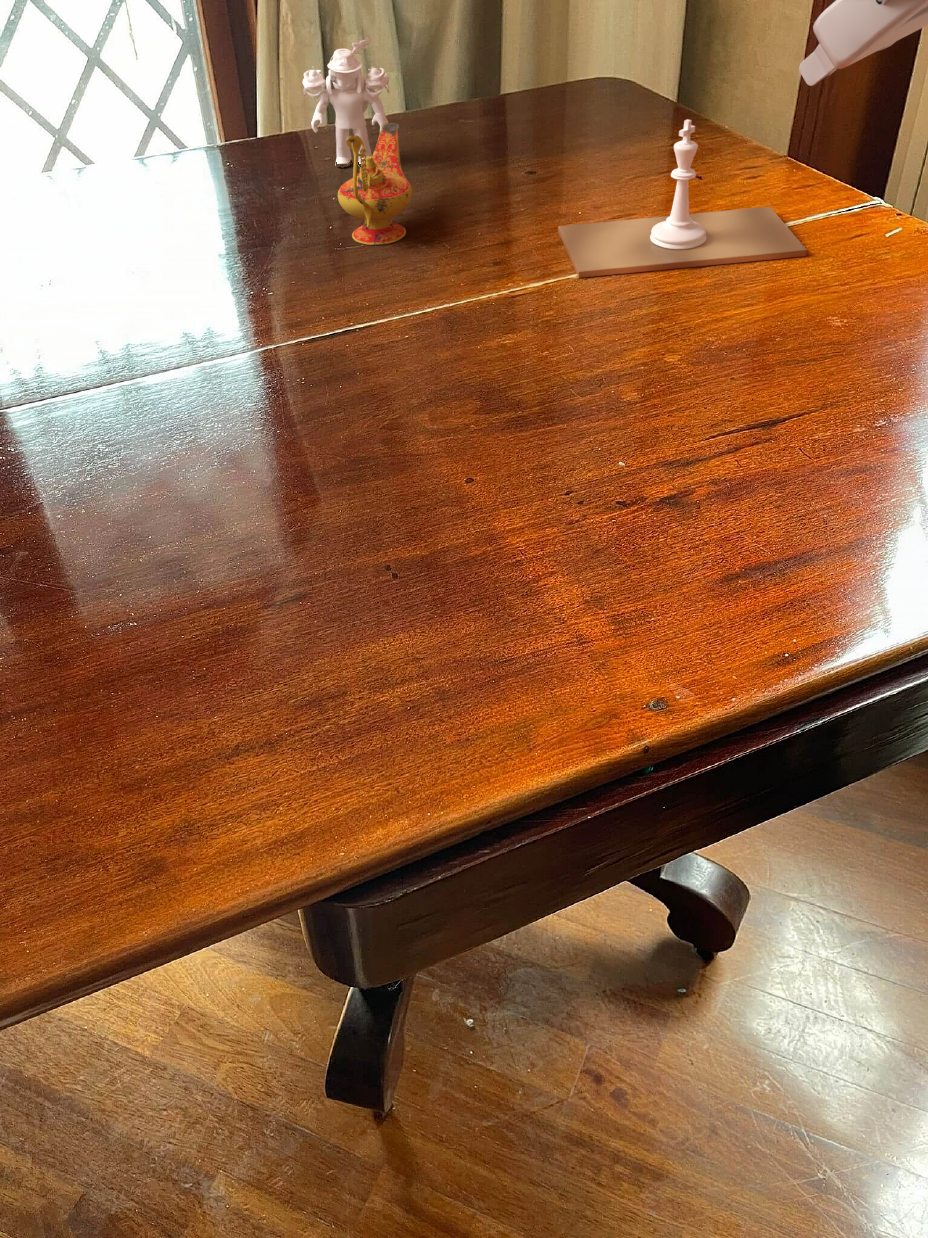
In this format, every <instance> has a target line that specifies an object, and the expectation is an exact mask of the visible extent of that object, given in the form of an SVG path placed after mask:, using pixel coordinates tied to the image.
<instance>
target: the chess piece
mask: <svg viewBox="0 0 928 1238" xmlns="http://www.w3.org/2000/svg"><path fill="white" fill-rule="evenodd" d="M695 132H696V125H692V119H688V118H687V119H685V120H684V121H683V128H682V129H680V130H679V131H678V137H681V138H682V139H681V140H679V141H677V142H675V143H674V144H673V151H674V154H675V155H674V156H675V158H676V163H677V168H674V169H673V170H672V171H671V173H670V177H671V178H672V179H674V180H676V186H675V192H674V195H673V201H672V206H671V211H670V214H669V215H668V216H669V217H668V218H667V219H666V221H663V222H660V223H658V224H656V225H655V226H654V227H653V228H652V230H651V235H650V240H651V241H652V242H653V243H654V244H656V245H658V246H660V247H663V248H668V249H690V248H694V247H697V246H700V245H702V244H703V243H704V242H705V241H706V229H705V228H704V227H703V226H702V225H701V224H699V223H697V222H694V221H693V219H692V218H691V217H690V215H689V214H690V198H689V195H690V193H689V191H690V189H689V188H690V187H689V180H693V179H695V178H696V177H697V172H696V170H695V169H693V168H692V167H691V166H692V163H693V161H694V158H695V155H696V153H697V151H698V148H699V145H698V143H697V142H696V141H693V140H691V134H693V133H695Z"/></svg>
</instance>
